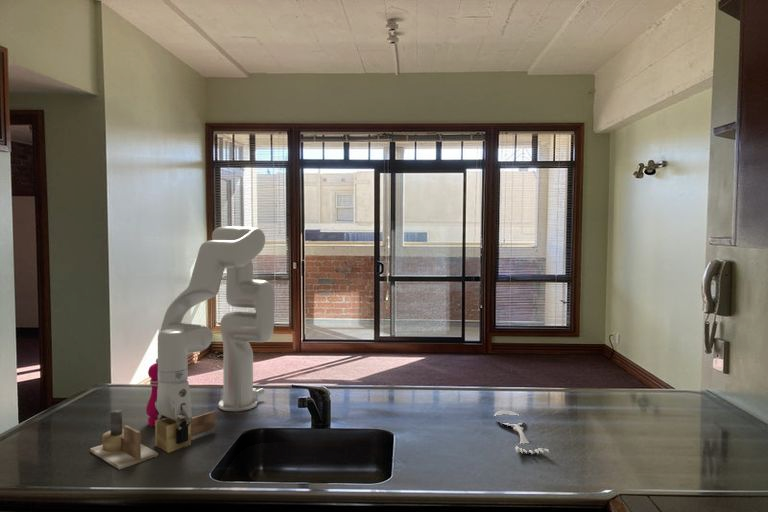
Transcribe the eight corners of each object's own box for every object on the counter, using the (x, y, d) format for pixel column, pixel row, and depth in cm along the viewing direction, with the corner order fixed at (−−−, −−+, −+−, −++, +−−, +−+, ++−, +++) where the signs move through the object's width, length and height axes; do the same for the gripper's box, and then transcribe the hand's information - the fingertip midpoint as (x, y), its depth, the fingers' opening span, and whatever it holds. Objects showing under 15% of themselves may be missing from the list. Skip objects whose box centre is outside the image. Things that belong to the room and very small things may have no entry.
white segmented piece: (516, 462, 138) (516, 449, 138) (490, 417, 170) (491, 407, 170) (550, 462, 138) (550, 449, 138) (518, 417, 170) (519, 407, 170)
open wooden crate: (207, 428, 156) (207, 405, 155) (221, 434, 152) (221, 410, 151) (155, 446, 143) (155, 420, 143) (168, 452, 139) (168, 426, 139)
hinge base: (90, 451, 139) (89, 413, 138) (127, 439, 147) (127, 403, 146) (119, 469, 129) (118, 428, 128) (158, 455, 137) (157, 417, 136)
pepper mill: (162, 428, 155) (162, 361, 154) (141, 426, 156) (140, 360, 155) (177, 419, 162) (176, 355, 161) (156, 417, 164) (155, 354, 162)
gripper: (203, 378, 140) (203, 442, 141) (168, 366, 151) (168, 426, 152) (177, 384, 134) (177, 451, 135) (143, 372, 145) (143, 434, 146)
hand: (173, 437), depth 143 cm, fingers open, 8 cm apart
